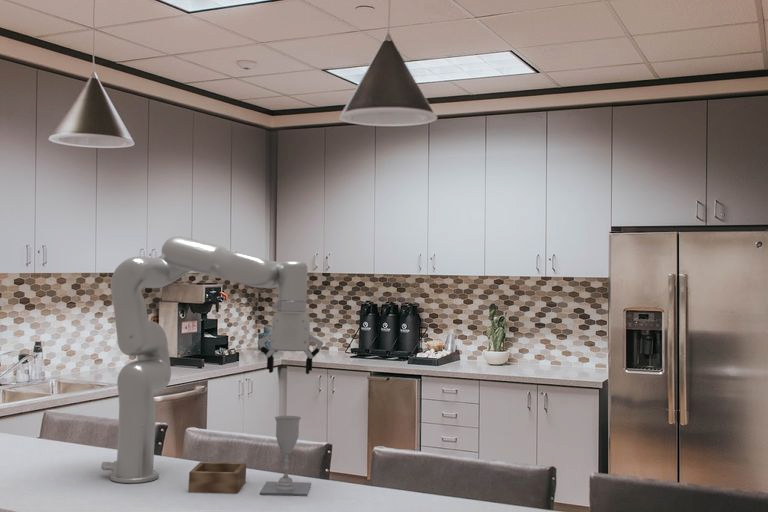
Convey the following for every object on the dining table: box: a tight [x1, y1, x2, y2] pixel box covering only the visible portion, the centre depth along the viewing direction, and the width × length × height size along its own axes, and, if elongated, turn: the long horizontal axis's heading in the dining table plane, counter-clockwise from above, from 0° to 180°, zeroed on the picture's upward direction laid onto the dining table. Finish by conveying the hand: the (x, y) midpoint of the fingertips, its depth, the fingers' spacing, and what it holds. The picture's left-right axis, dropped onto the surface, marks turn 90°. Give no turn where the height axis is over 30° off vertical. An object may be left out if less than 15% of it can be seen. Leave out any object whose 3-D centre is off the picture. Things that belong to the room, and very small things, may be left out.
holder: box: [188, 461, 247, 495], centre depth 202 cm, size 12×12×5 cm
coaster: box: [259, 481, 312, 497], centre depth 201 cm, size 12×12×1 cm
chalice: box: [274, 415, 302, 490], centre depth 202 cm, size 7×7×18 cm
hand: (289, 372), depth 203 cm, fingers open, 9 cm apart
